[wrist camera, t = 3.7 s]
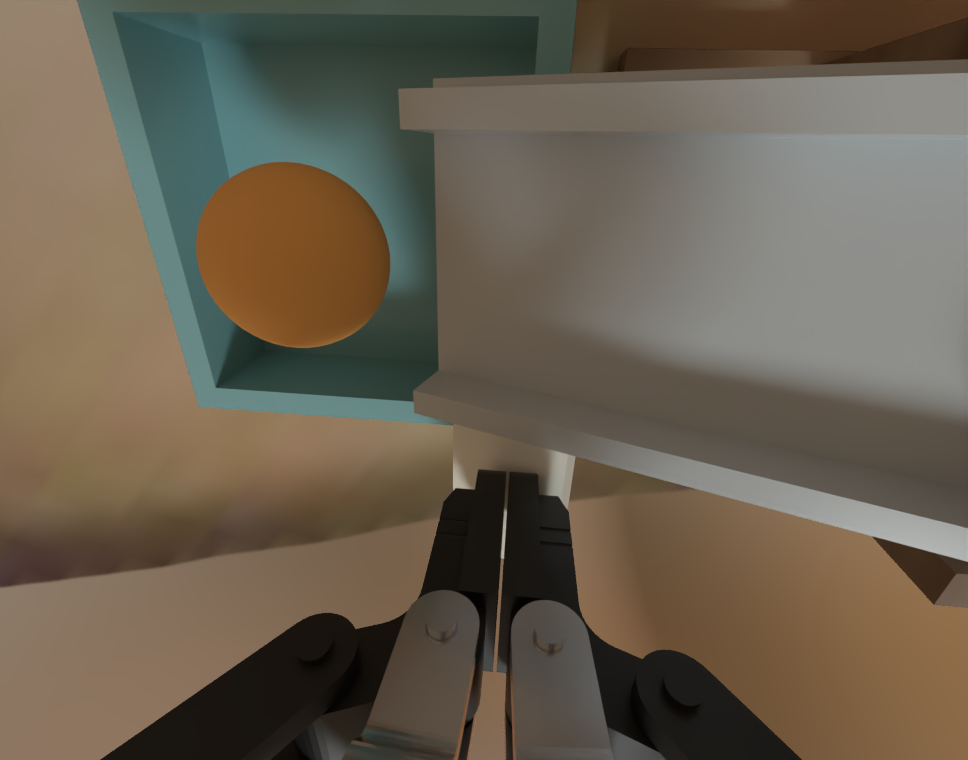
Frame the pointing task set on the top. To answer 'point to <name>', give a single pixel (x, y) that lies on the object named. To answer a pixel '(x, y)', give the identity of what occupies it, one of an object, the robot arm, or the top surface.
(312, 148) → the teal square tray
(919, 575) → the stand
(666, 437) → the chute
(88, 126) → the top surface
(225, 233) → the ball
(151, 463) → the top surface
